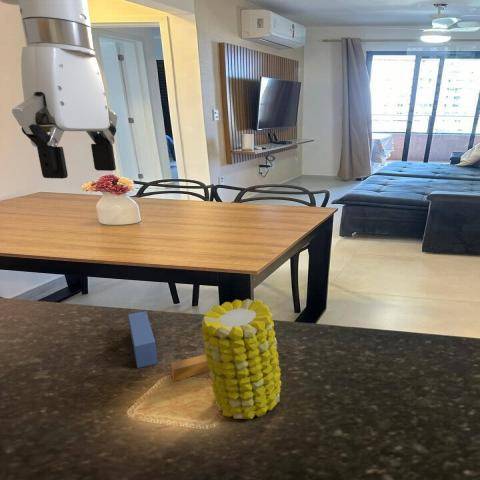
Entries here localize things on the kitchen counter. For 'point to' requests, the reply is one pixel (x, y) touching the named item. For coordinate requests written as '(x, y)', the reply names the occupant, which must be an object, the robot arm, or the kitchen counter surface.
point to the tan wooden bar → (189, 367)
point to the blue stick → (142, 339)
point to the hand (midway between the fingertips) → (82, 173)
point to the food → (242, 358)
